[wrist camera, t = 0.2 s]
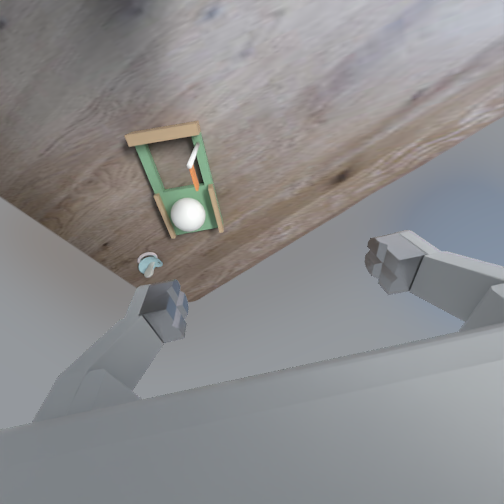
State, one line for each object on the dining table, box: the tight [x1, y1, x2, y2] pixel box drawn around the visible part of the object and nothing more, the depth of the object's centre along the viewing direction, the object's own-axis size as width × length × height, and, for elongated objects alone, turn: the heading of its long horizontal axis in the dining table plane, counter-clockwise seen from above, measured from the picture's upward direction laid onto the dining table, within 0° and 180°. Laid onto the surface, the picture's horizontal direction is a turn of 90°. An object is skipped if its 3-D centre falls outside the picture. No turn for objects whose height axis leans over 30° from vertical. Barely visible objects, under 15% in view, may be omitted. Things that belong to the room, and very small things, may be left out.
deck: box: [124, 121, 223, 239], centre depth 45 cm, size 25×14×20 cm, turn 7°
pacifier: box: [138, 252, 163, 277], centre depth 63 cm, size 7×6×6 cm
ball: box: [171, 198, 206, 232], centre depth 52 cm, size 8×8×8 cm
